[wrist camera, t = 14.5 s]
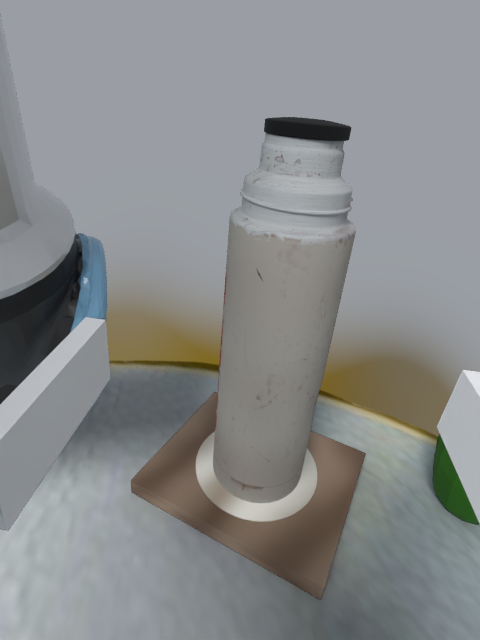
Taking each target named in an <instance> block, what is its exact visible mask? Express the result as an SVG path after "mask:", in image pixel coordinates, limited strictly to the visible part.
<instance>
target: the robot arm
mask: <svg viewBox="0 0 480 640" xmlns="http://www.w3.org/2000/svg"><path fill="white" fill-rule="evenodd" d="M106 311H107V277H106V262H105V254H104V249H103V245H102V243H101V242H100V240H98V239H97V238H94V237H89V236H86V235H84V234H81V233H79V234H76V233H75V227H74V221H73V218H72V216H71V213H70V211H69V209H68V207H67V206H66V205H65V204H64V202H63V201H62V200H61V199H60V198H58V197H57V196H56V195H55V194H53V193H52V192H51V191H49V190H47V189H46V188H44V187H42V186H41V185H39V184H38V183H36V182H34V177H33V172H32V167H31V162H30V157H29V153H28V147H27V143H26V138H25V133H24V128H23V123H22V118H21V113H20V108H19V103H18V98H17V93H16V89H15V83H14V79H13V74H12V69H11V64H10V59H9V54H8V49H7V44H6V39H5V34H4V29H3V25H2V20H1V15H0V529H1V530H7V531H9V529H10V528H11V526H12V525H13V523H14V522H15V520H16V519H17V517H18V516H19V514H20V513H21V511H22V510H23V508H24V507H25V505H26V504H27V502H28V501H29V499H30V498H31V496H32V495H33V493H34V492H35V490H36V489H37V488H38V486H39V485H40V483H41V482H42V480H43V479H44V477H45V476H46V474H47V473H48V471H49V470H50V468H51V467H52V465H53V464H54V462H55V461H56V459H57V458H58V456H59V455H60V453H61V452H62V450H63V449H64V447H65V446H66V444H67V443H68V441H69V440H70V438H71V437H72V435H73V434H74V432H75V431H76V429H77V428H78V426H79V425H80V423H81V422H82V420H83V419H84V417H85V416H86V414H87V413H88V411H89V410H90V408H91V407H93V405H94V404H95V403H96V402H97V400H98V398H99V396H100V394H101V392H102V390H103V389H104V387H105V386H106V384H107V383H108V381H109V380H110V379H111V376H110V365H109V354H108V343H107V332H106ZM437 428H438V431H439V433H440V435H441V438H442V440H443V442H444V444H445V447H446V449H447V451H448V453H449V456H450V458H451V460H452V462H453V465H454V467H455V469H456V471H457V474H458V476H459V478H460V480H461V483H462V485H463V487H464V490H465V492H466V494H467V496H468V499H469V501H470V503H471V505H472V508H473V510H474V512H475V514H476V517H477V519H478V521H479V523H480V372H474V371H466V370H462V372H461V375H460V377H459V379H458V381H457V384H456V386H455V388H454V390H453V393H452V395H451V397H450V399H449V401H448V403H447V406H446V408H445V410H444V412H443V414H442V417H441V419H440V421H439V423H438V425H437Z"/></svg>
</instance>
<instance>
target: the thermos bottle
mask: <svg viewBox="0 0 480 640" xmlns="http://www.w3.org/2000/svg"><path fill="white" fill-rule="evenodd" d="M264 131H265V132H266V136H265V141H264V143H263V144H262V149H261V158H260V165H259V168H257V169H256V170H254V171H253V172H251V173H250V174H248V175H246V176H245V178H244V186H243V189H241V192H240V193H241V196H242V197H243V199H242V207H239V208H237V209H235V210H233V212H231V215H230V222H229V235H228V250H227V264H226V278H225V293H224V307H223V322H222V336H221V351H220V365H219V380H218V394H217V409H216V423H215V437H214V452H213V470H214V473H215V476H216V478H217V480H218V481H219V483H220V484H221V485H222V487H223V488H224V489H225V490H226V491H228V492H229V493H230V494H232V495H233V496H235V497H237V498H239V499H241V500H244V501H248V502H252V503H271V502H275V501H278V500H280V499H282V498H284V497H286V496H288V495H289V494H290V493H291V492H292V491H293V490H294V489H295V488H296V486H297V485H298V482H299V480H300V477H301V472H302V468H303V463H304V459H305V455H306V450H307V446H308V441H309V437H310V432H311V427H312V421H313V414H314V409H315V404H316V400H317V397H318V394H319V390H320V387H321V383H322V379H323V375H324V370H325V365H326V361H327V357H328V352H329V348H330V344H331V339H332V335H333V330H334V326H335V322H336V317H337V313H338V308H339V303H340V299H341V295H342V291H343V286H344V282H345V277H346V273H347V268H348V264H349V260H350V255H351V251H352V246H353V242H354V237H355V232H356V227H355V226H354V224H353V223H352V222H350V221H349V220H347V214H348V212H349V211H350V210H351V209H352V207H351V206H350V202H351V201H353V198H351V195H352V188H351V186H350V185H349V184H348V183H347V182H346V181H345V180H344V179H343V178H342V177H341V169H342V163H343V158H344V151H343V144H344V141H346V140H349V136H350V131H351V127H350V126H346V125H343V124H339V123H335V122H331V121H325V120H318V119H308V118H295V117H281V118H267V119H265V128H264Z"/></svg>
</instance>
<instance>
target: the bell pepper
mask: <svg viewBox="0 0 480 640" xmlns="http://www.w3.org/2000/svg"><path fill="white" fill-rule="evenodd" d="M433 484H434V490H435V492H436V495H437V497H438V498H439V500H440V501H441V502H442V504H443V505H444V507H445V508H446V509H447V510H448V511H449V512H451V513H452V514H454V515H455V516H457V517H458V518H460V519H461V520H463V521H466V522H469V523H473V524H477V525H479V524H480V523H479V521H478V519H477V517H476V514H475V512H474V510H473V508H472V505H471V503H470V501H469V499H468V496H467V494H466V492H465V490H464V487H463V485H462V483H461V480H460V478H459V476H458V474H457V471H456V469H455V467H454V465H453V462H452V460H451V458H450V456H449V453H448V451H447V449H446V447H445V444H444V442H443V440H442V438H441V435H440V434H439V436H438V439H437V445H436V452H435V455H434V464H433Z"/></svg>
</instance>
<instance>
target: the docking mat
mask: <svg viewBox="0 0 480 640" xmlns="http://www.w3.org/2000/svg"><path fill="white" fill-rule="evenodd" d="M217 394H218V393H217V392H214V393H213V394H212V395H211V396H210V397H209V399H208V400H207V401H206V402H205V403H204V404H203V405H202V406H201V407H200V408H199V409H198V410H197V411H196V412H195V413H194V414H193V415H192V416H191V417H190V419H189V420H188V421H187V422H186V423H185V424H184V425H183V426H182V427H181V428H180V429H179V430H178V431H177V432H176V433H175V434H174V435H173V436H172V438H171V439H170V440H169V441H168V442H167V443H166V444H165V445H164V446H163V447H162V448H161V449H160V450H159V451H158V452H157V453H156V454H155V455H154V457H153V458H152V459H151V460H150V461H149V462H148V463H147V464H146V465H145V466H144V467H143V468H142V469H141V470H140V471H139V472H138V473H137V474H136V475H135V477H134V478H133V479H132V480H131V490H132V493H134V494H136V495H137V496H139V497H141V498H143V499H144V500H146V501H148V502H150V503H151V504H153V505H155V506H157V507H159V508H160V509H162V510H164V511H166V512H167V513H169V514H171V515H173V516H174V517H176V518H178V519H180V520H181V521H183V522H185V523H187V524H188V525H190V526H192V527H194V528H195V529H197V530H199V531H201V532H202V533H204V534H206V535H208V536H209V537H211V538H213V539H215V540H216V541H218V542H220V543H222V544H224V545H225V546H227V547H229V548H231V549H232V550H234V551H236V552H238V553H239V554H241V555H243V556H245V557H246V558H248V559H250V560H252V561H253V562H255V563H257V564H259V565H260V566H262V567H264V568H266V569H267V570H269V571H271V572H273V573H274V574H276V575H278V576H280V577H281V578H283V579H285V580H287V581H289V582H290V583H292V584H294V585H296V586H297V587H299V588H301V589H303V590H304V591H306V592H308V593H310V594H311V595H313V596H315V597H317V598H318V599H320V600H321V597H322V594H323V591H324V588H325V585H326V581H327V578H328V575H329V572H330V568H331V565H332V562H333V559H334V555H335V552H336V549H337V545H338V542H339V539H340V536H341V532H342V529H343V526H344V523H345V519H346V516H347V513H348V510H349V506H350V503H351V500H352V497H353V493H354V490H355V487H356V483H357V480H358V477H359V474H360V470H361V467H362V464H363V461H364V457H365V454H366V453H364V452H361V451H359V450H356V449H354V448H351V447H349V446H347V445H344V444H342V443H339V442H337V441H334V440H332V439H329V438H327V437H325V436H322V435H320V434H317V433H315V432H312V431H311V432H310V437H309V441H308V446H307V450H306V455H305V459H304V463H303V468H302V472H301V477H300V480H299V482H298V485H297V486H296V488H295V489H294V490H293V491H292V492H291V493H290V494H289V495H288V496H286V497H284V498H282V499H280V500H278V501H275V502H271V503H252V502H248V501H244V500H241V499H239V498H237V497H235V496H233V495H232V494H230V493H229V492H228V491H226V490H225V489H224V488H223V487H222V485H221V484H220V483H219V481H218V480H217V478H216V476H215V473H214V470H213V452H214V437H215V423H216V409H217Z"/></svg>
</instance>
